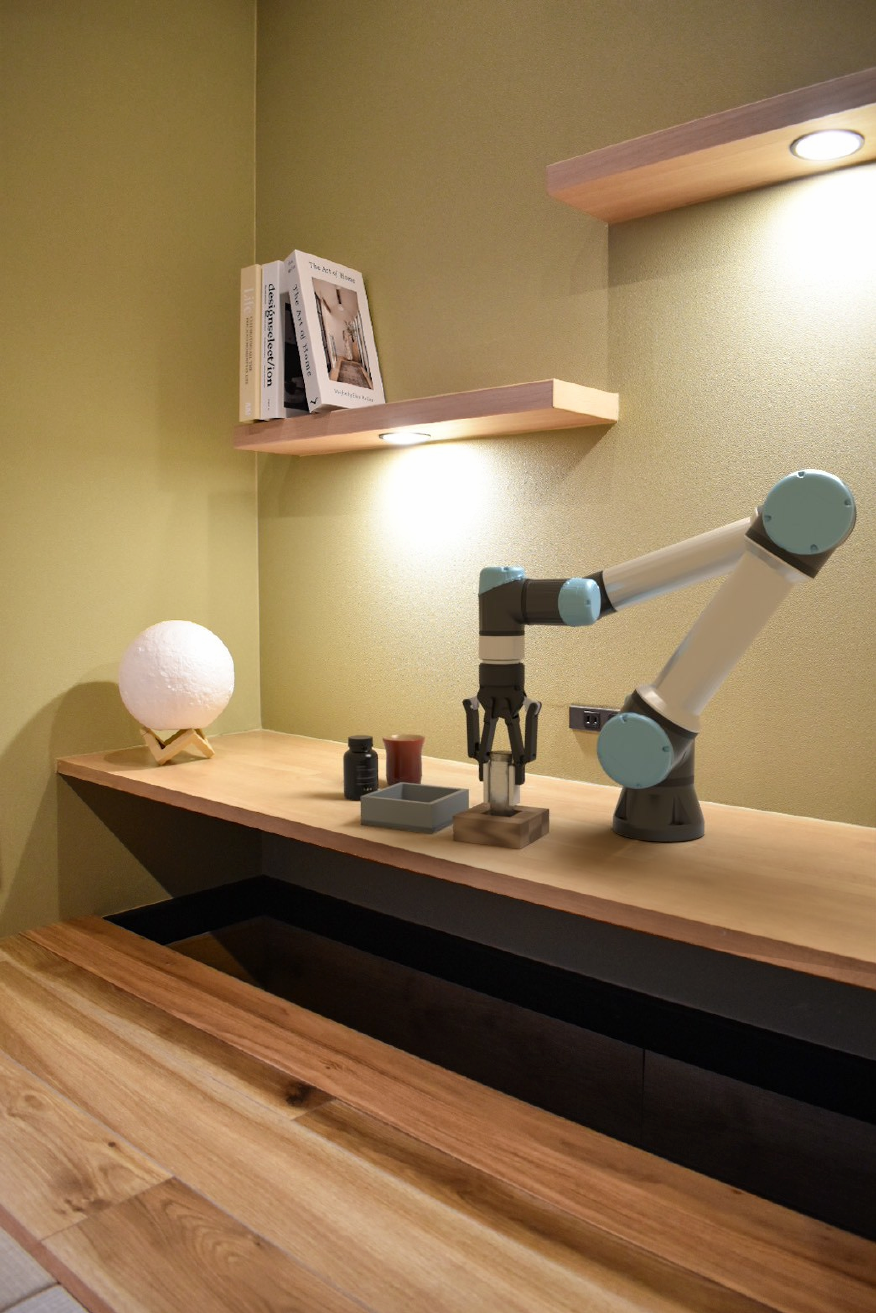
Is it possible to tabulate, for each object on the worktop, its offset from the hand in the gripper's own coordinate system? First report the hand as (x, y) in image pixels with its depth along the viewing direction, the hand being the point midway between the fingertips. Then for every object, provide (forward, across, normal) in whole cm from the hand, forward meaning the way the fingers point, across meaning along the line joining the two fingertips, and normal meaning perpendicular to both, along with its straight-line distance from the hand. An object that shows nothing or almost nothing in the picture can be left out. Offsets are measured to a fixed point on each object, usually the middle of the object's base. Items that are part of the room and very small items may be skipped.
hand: (501, 802), depth 167 cm
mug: (+6, +36, -29) cm, 47 cm away
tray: (+6, +18, -3) cm, 19 cm away
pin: (+6, 0, 0) cm, 6 cm away
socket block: (+6, 0, 0) cm, 6 cm away
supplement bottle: (+6, +37, -15) cm, 40 cm away
